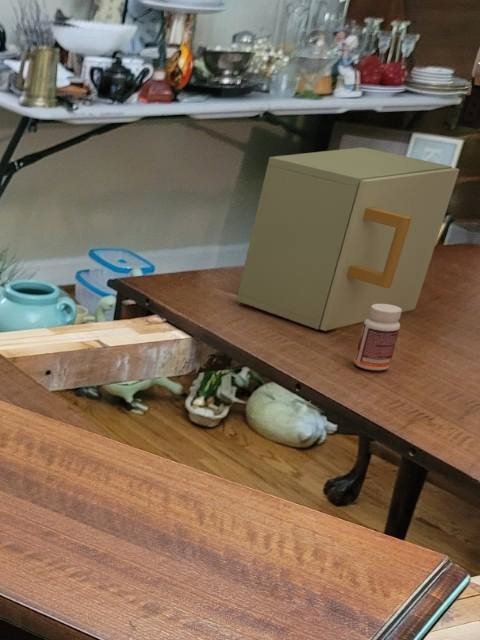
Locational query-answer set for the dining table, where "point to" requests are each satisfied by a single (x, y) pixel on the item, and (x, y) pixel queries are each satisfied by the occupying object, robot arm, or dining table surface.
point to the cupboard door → (388, 244)
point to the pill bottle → (378, 337)
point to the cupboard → (309, 227)
